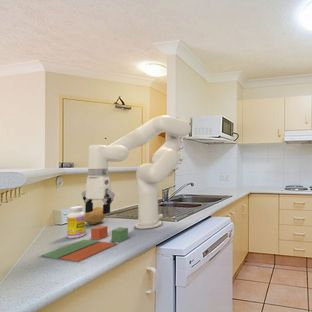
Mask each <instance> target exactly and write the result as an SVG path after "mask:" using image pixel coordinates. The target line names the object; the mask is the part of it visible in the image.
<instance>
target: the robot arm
mask: <svg viewBox="0 0 312 312" xmlns="http://www.w3.org/2000/svg"><path fill="white" fill-rule="evenodd" d="M191 131H192V126H191V124H190V123H189V122H188V121H187V120H184V119H181V118H178V117H174V116H170V115H164V114H163V115H159V116H155V117H153V118H151V119H149V120H148V121H146V122H145V123H143V124H142V125H140V126H138V127H137V128H135V129H134V130H132V131H130V132H128V133H127V134H125V135H124V136H122V137H120V138H118V139H116V140H115V141H114V142H112V143H110V144H109V145H105V144H90V145H89V146H88V147H87V148H88V149H87V152H88V153H87V178H86V182H85V190H84V191H83V192H81V196H82V200H83V202H84V206H85V207H84V210H85V211H84V213H85V212H86V213H88V212H92V211H93V208H94V202H93V201H102V202H103V204H102V208H103V214H106V215H107V214H110V213H111V204H112V202H113V201H114V199H115V196H116V193H115V192H113V191H112V183H111V177H110V175H109V173H110V171H109V163H110V162H111V163H114V162H115V163H117V162H120V163H121V162H123V161H125V160H126V159H128V158H129V154H130V153H129V151H131V150H134V149H136V148H139V147H141V146H145V145H146V144H148V143H149V142H151V141H152V140H153V139H155V138H156V137H157V136H159V135H161V134H162V133H165V134H166V135H165V136H166V139H165V141H164V143H163V144H162V145H161V146H160V147H158V149H157V150H156V151H155V152H154V153H153V155H152V157H151V162H152V163H151V162H145V163H142V164H140V165H139V166H138V167H137V169H136V171H135V178H136V184H137V218H138V220H137V222H136V223H135V224H134V227H135V228H136V229H139V230H146V229H153V228H157V227H160V226H162V221H161V220H160V219H162V218H163V217H164V215H163V213H159V189H158V183H161V182H163V181H165V179H166V178H168V176H169V175H170V174H171V173H172V171H173V170H174V169H175V168H176V167H177V165H179V161H180V154H179V150H180V148H181V139H180V138H181V137H187V136H188V135H189V134H190V133H191Z"/></svg>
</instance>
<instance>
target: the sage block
mask: <svg viewBox="0 0 312 312" xmlns="http://www.w3.org/2000/svg"><path fill="white" fill-rule="evenodd" d="M127 239H129V228H128V227H121V226H120V227H117V228H114V229H111V242H116V243H117V242H118V243H119V242H120V243H121V242H123V241H126V240H127Z"/></svg>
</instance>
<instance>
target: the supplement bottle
mask: <svg viewBox="0 0 312 312" xmlns="http://www.w3.org/2000/svg"><path fill="white" fill-rule="evenodd" d="M85 235H86V222H85V211H83V206H82V205H77V206H76V205H75V206H70V207H69V213H68V214H67V216H66V237H67V238H68V239H76V238H77V239H78V238H81V237H83V236H85Z"/></svg>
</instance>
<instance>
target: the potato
mask: <svg viewBox="0 0 312 312" xmlns="http://www.w3.org/2000/svg"><path fill="white" fill-rule="evenodd" d="M84 213H85V224H88V225H96V224H98V223H100V222H102V221H103V220H104V219H105V218H106V216H107V214H103V207H100V206H96V207H93V211H92V212H88V213H86V212H85V211H84Z"/></svg>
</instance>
